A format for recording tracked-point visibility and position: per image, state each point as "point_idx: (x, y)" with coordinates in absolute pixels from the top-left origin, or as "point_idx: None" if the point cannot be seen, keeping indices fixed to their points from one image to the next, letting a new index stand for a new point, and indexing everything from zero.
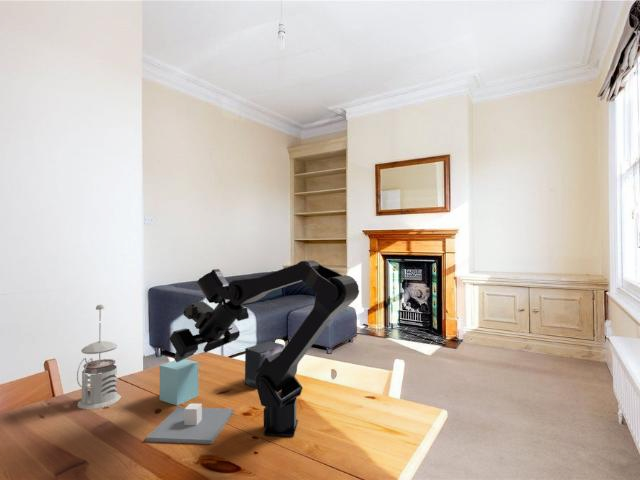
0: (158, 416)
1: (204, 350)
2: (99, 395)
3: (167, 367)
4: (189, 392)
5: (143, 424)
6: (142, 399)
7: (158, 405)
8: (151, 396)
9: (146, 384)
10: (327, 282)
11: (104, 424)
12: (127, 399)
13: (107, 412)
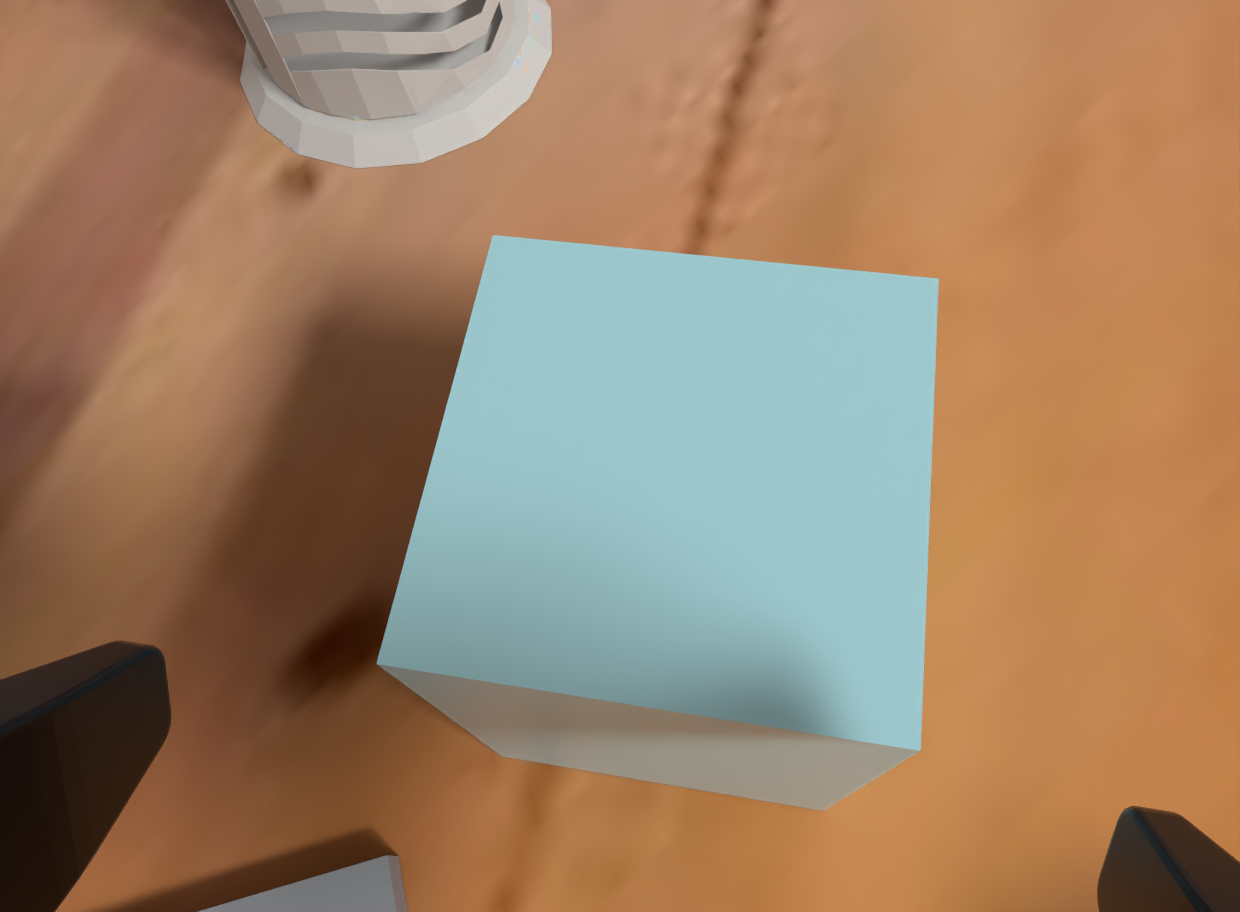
0: (227, 752)
1: (1118, 867)
2: (269, 48)
3: (448, 407)
4: (679, 776)
5: None
6: None
7: None
8: None
9: (815, 95)
10: None
11: (19, 409)
12: (480, 201)
13: (220, 258)
